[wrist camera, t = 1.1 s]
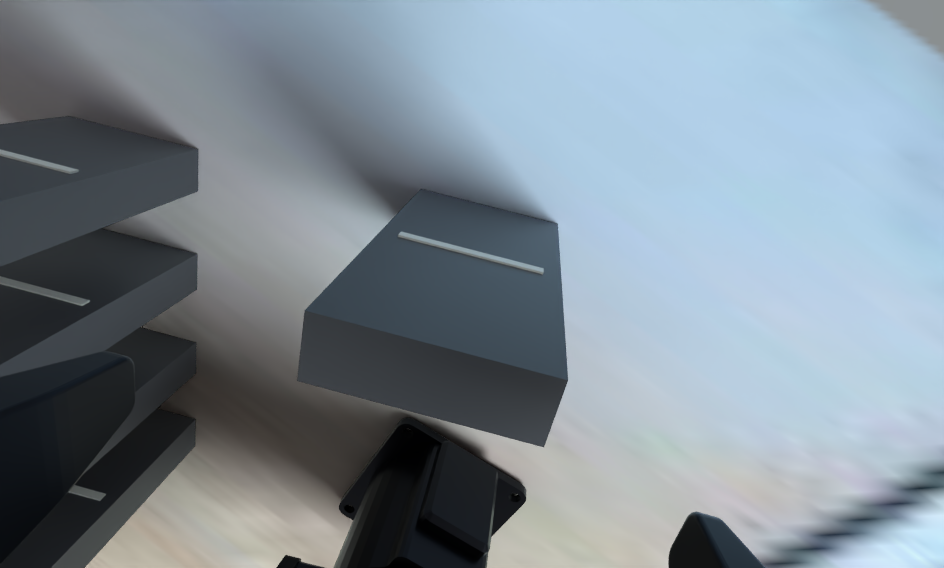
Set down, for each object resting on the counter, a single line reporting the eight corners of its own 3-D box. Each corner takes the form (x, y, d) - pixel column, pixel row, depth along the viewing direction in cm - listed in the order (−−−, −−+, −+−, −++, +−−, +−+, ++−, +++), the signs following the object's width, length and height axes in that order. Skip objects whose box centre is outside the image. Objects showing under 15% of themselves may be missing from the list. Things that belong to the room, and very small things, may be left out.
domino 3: (195, 374, 24) (-26, 574, 14) (89, 345, 24) (-198, 525, 15) (196, 341, 23) (-37, 530, 14) (86, 311, 23) (-217, 478, 14)
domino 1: (197, 192, 20) (-92, 304, 11) (72, 160, 20) (-315, 243, 11) (198, 147, 19) (-111, 227, 10) (68, 114, 20) (-349, 163, 10)
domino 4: (195, 446, 25) (-4, 666, 16) (95, 419, 25) (-158, 621, 16) (195, 418, 25) (-12, 631, 15) (93, 390, 25) (-174, 584, 16)
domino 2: (196, 290, 22) (-55, 458, 13) (81, 260, 22) (-249, 403, 13) (197, 252, 21) (-69, 400, 12) (78, 221, 21) (-273, 344, 12)
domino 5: (544, 266, 19) (542, 449, 10) (412, 232, 20) (297, 383, 11) (558, 222, 19) (569, 377, 10) (421, 187, 19) (305, 307, 10)
